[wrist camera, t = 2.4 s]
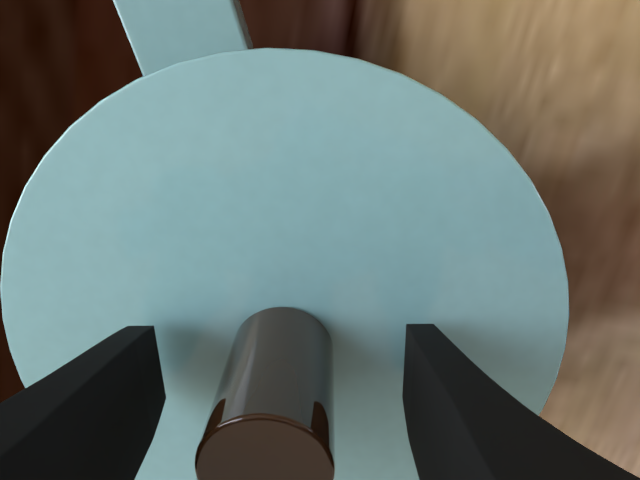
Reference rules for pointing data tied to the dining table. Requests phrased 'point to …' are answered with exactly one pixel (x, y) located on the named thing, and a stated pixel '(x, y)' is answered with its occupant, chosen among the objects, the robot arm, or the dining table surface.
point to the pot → (181, 30)
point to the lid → (284, 258)
